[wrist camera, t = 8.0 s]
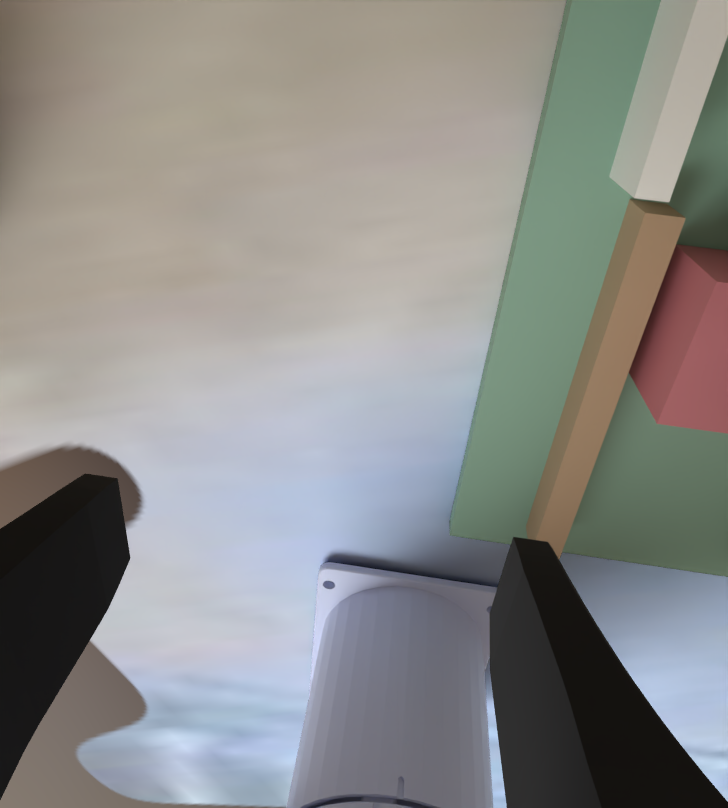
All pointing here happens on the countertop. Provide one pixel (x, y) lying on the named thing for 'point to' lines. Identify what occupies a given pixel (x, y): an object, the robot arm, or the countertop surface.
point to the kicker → (687, 343)
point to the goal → (669, 96)
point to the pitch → (597, 327)
